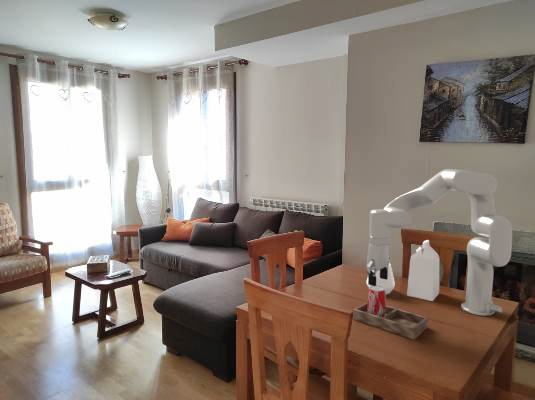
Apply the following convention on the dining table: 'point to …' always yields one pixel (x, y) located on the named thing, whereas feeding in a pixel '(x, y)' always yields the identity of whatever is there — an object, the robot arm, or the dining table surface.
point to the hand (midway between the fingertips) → (378, 281)
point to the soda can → (376, 301)
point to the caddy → (393, 321)
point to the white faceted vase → (384, 280)
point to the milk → (424, 273)
